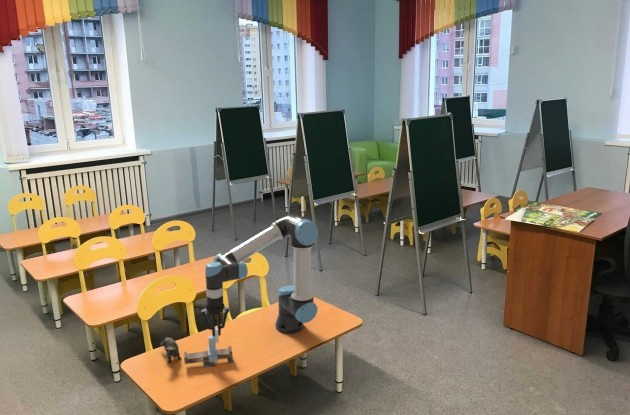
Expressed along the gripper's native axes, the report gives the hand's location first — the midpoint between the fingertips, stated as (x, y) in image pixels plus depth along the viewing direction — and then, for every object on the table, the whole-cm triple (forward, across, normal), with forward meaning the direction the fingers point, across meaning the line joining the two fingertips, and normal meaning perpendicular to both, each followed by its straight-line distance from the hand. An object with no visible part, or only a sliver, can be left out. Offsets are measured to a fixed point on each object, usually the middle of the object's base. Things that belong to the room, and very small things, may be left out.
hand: (216, 341), depth 236 cm
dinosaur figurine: (+11, +21, -10) cm, 26 cm away
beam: (+11, +4, 0) cm, 12 cm away
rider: (+8, +2, 0) cm, 8 cm away
